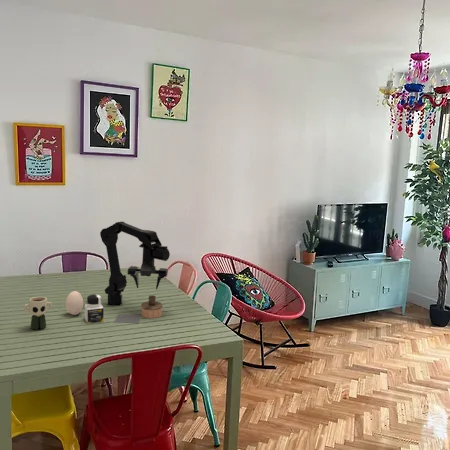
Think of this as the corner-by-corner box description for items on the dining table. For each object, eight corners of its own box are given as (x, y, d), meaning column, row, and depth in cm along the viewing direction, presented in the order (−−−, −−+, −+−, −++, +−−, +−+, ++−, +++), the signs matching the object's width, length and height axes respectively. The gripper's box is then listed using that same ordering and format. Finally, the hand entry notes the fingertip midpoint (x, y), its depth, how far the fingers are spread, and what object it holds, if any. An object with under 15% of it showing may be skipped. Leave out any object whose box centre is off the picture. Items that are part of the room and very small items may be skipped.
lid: (139, 309, 214) (140, 299, 213) (143, 302, 224) (143, 292, 223) (161, 310, 214) (161, 300, 213) (163, 303, 224) (163, 293, 223)
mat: (113, 323, 207) (113, 322, 207) (118, 315, 218) (118, 314, 218) (137, 324, 207) (137, 323, 207) (141, 316, 218) (141, 315, 218)
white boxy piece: (87, 324, 204) (87, 298, 202) (84, 319, 210) (84, 294, 209) (103, 322, 208) (103, 297, 206) (100, 317, 214) (100, 292, 212)
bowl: (140, 318, 215) (140, 309, 214) (143, 311, 224) (143, 302, 223) (160, 319, 215) (160, 310, 214) (162, 312, 224) (163, 303, 224)
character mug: (25, 332, 192) (25, 302, 190) (23, 326, 198) (23, 297, 196) (53, 329, 197) (52, 300, 195) (50, 323, 203) (50, 295, 201)
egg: (78, 310, 221) (78, 287, 220) (86, 315, 216) (86, 291, 214) (62, 314, 216) (62, 290, 214) (70, 318, 210) (70, 294, 208)
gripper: (125, 259, 211) (124, 292, 214) (165, 262, 211) (164, 295, 214) (130, 254, 222) (129, 285, 225) (168, 257, 222) (167, 288, 225)
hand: (147, 288), depth 222 cm, fingers open, 9 cm apart
